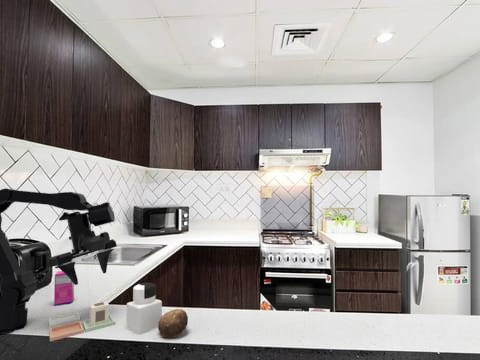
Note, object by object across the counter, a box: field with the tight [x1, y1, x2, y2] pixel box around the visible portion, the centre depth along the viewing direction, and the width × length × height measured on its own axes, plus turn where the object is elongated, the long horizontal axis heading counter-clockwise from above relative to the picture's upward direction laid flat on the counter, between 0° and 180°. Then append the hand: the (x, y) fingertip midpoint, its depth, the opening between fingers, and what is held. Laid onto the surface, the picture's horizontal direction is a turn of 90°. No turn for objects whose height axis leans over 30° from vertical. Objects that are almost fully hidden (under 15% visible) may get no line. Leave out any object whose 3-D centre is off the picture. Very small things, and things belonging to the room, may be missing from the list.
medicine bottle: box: [125, 282, 163, 335], centre depth 76 cm, size 7×7×12 cm
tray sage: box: [81, 313, 116, 333], centre depth 78 cm, size 8×8×1 cm
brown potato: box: [157, 308, 189, 339], centre depth 71 cm, size 8×8×6 cm
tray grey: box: [48, 311, 81, 330], centre depth 81 cm, size 8×8×1 cm
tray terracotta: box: [49, 320, 85, 342], centre depth 73 cm, size 8×8×1 cm
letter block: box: [88, 300, 110, 327], centre depth 78 cm, size 4×5×6 cm
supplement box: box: [53, 270, 75, 307], centre depth 101 cm, size 6×6×12 cm
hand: (91, 278), depth 84 cm, fingers open, 9 cm apart
